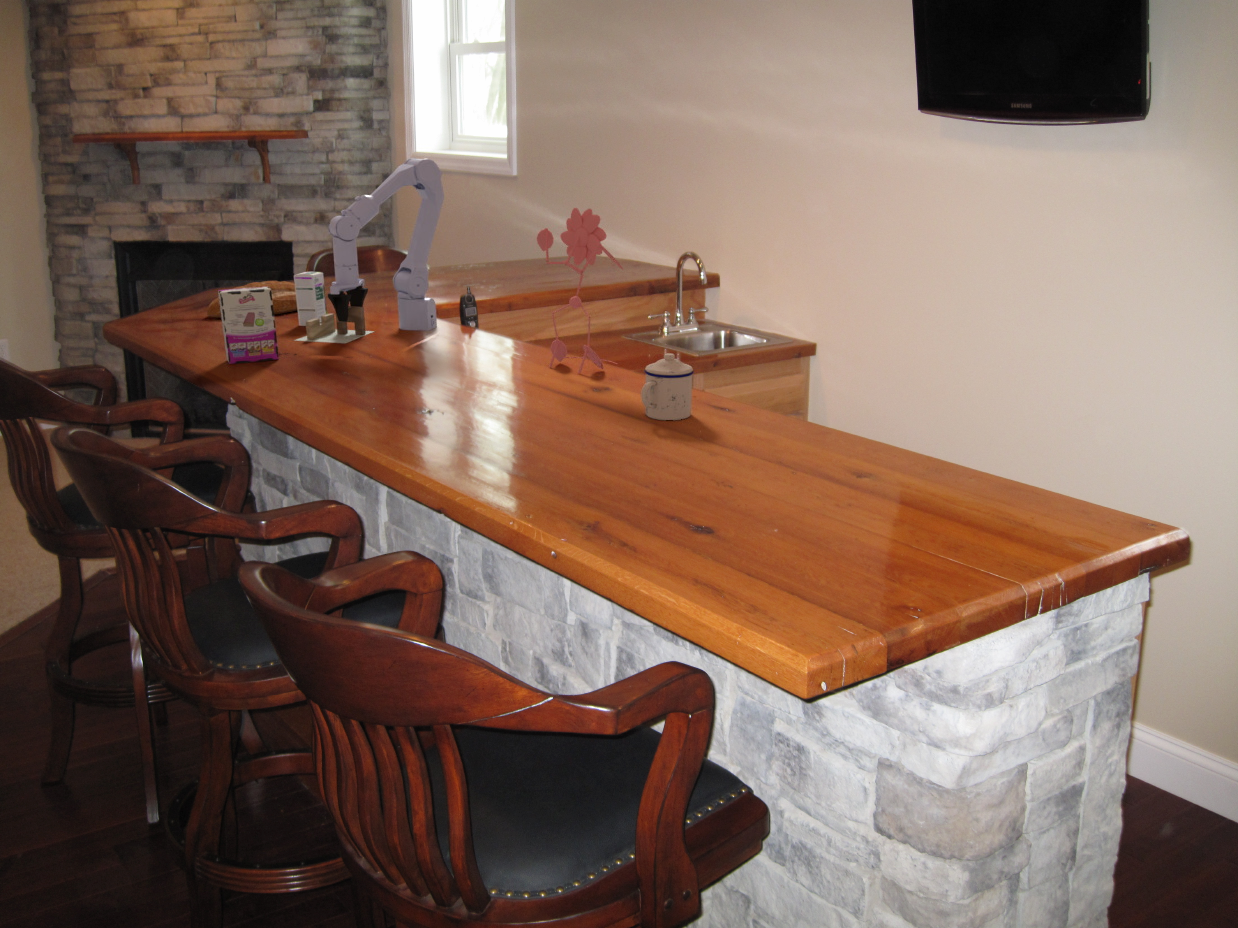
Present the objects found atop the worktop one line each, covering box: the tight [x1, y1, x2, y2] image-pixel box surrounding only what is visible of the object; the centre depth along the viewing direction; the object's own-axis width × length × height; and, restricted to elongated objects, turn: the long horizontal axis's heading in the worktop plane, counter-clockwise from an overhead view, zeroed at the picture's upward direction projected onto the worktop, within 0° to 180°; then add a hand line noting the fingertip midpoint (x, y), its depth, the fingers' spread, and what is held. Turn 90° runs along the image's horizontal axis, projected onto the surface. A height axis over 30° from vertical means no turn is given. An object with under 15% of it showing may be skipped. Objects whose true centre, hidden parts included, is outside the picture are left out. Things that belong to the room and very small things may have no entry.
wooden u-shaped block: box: [305, 313, 336, 340], centre depth 258 cm, size 1×12×5 cm, turn 167°
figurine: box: [536, 207, 624, 378], centre depth 226 cm, size 15×26×35 cm, turn 49°
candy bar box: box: [217, 287, 280, 365], centre depth 232 cm, size 11×5×16 cm, turn 118°
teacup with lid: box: [640, 352, 694, 421], centre depth 188 cm, size 12×9×12 cm
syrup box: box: [293, 271, 328, 327], centre depth 272 cm, size 6×6×14 cm
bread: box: [206, 280, 298, 319], centre depth 296 cm, size 18×35×9 cm, turn 140°
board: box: [293, 328, 375, 344], centre depth 258 cm, size 14×16×1 cm
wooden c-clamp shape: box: [335, 306, 367, 336], centre depth 259 cm, size 7×2×7 cm, turn 77°
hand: (350, 318), depth 259 cm, fingers open, 7 cm apart
